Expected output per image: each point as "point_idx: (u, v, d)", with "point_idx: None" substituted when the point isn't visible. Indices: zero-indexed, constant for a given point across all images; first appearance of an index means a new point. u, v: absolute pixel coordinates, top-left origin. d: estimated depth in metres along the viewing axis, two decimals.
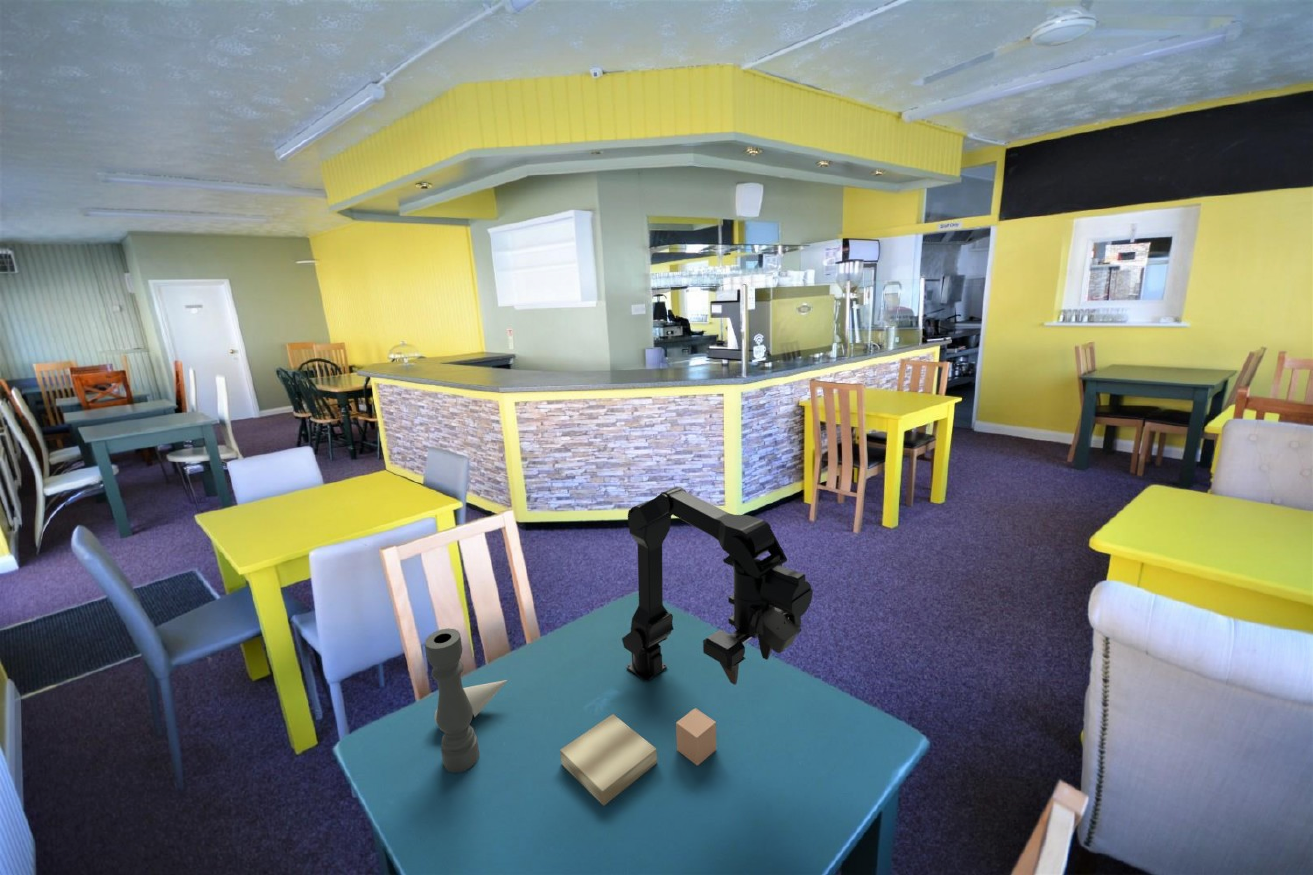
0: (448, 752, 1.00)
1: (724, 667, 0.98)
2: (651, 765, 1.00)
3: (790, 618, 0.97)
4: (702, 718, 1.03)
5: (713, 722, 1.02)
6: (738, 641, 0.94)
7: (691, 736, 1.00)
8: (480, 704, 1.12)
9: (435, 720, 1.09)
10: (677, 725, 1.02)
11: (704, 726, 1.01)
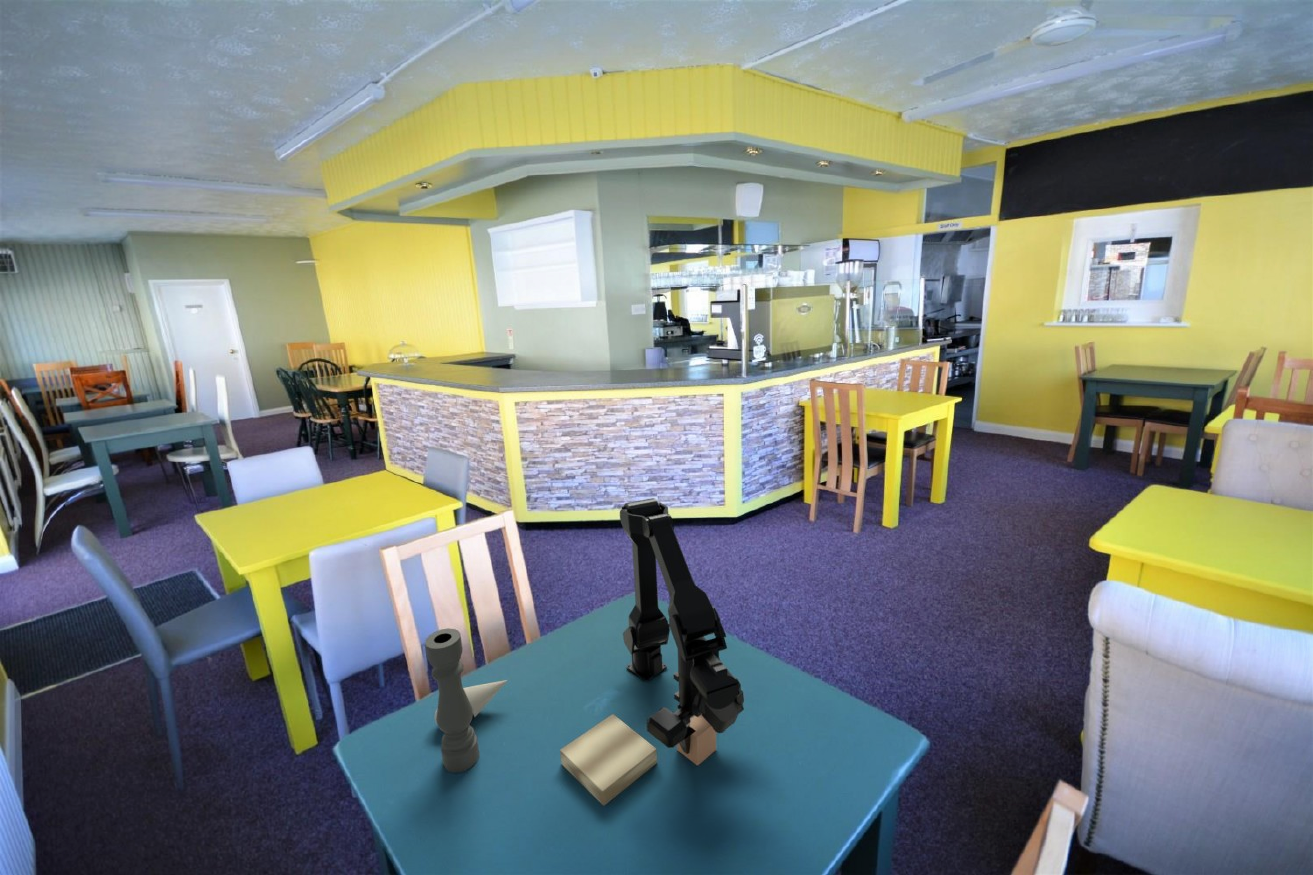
0: (448, 752, 1.00)
1: None
2: (651, 765, 1.00)
3: None
4: (702, 718, 1.03)
5: None
6: (681, 721, 0.95)
7: (691, 735, 1.00)
8: (480, 704, 1.12)
9: (435, 720, 1.09)
10: None
11: (704, 726, 1.01)
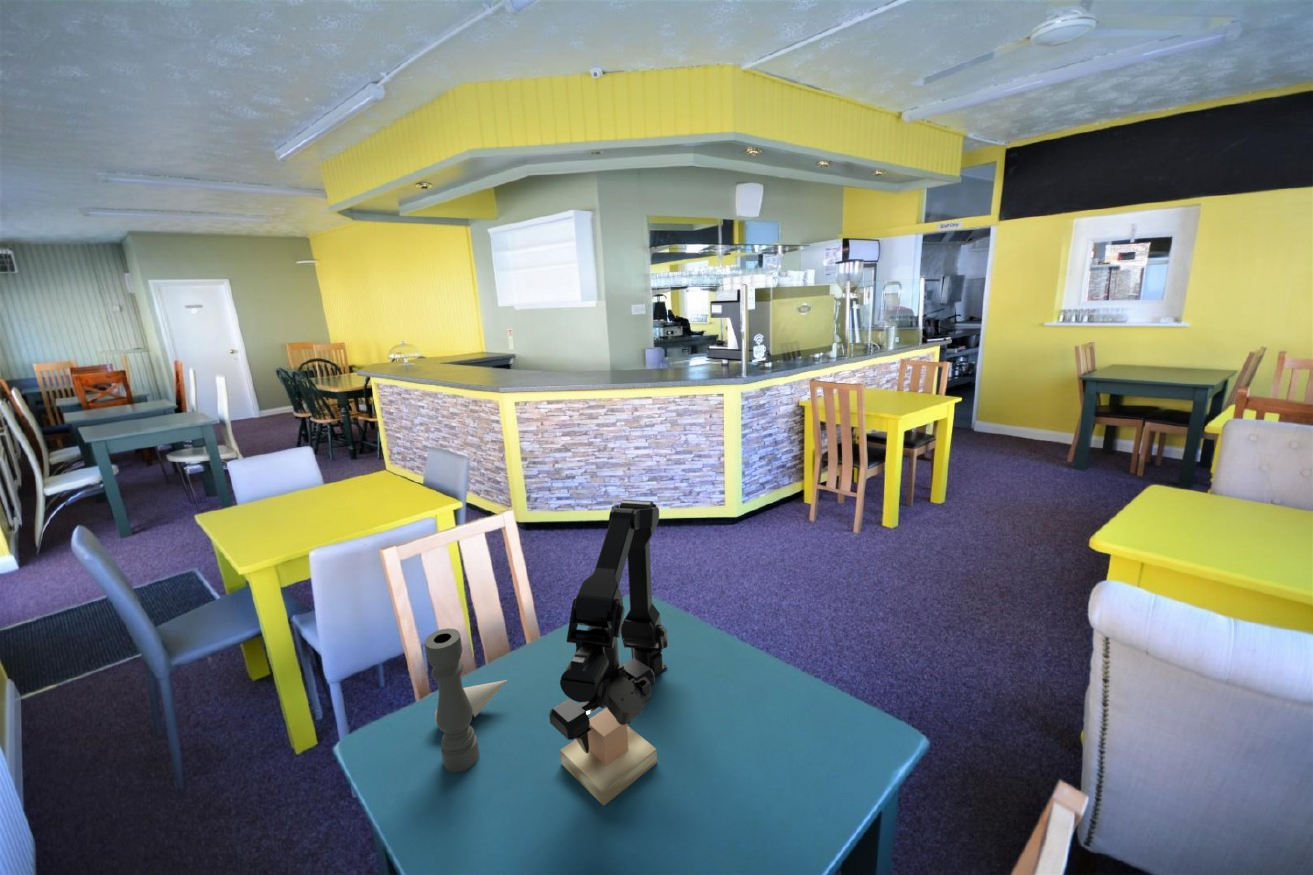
0: (448, 752, 1.00)
1: None
2: (651, 765, 1.00)
3: (641, 686, 0.95)
4: (613, 717, 1.00)
5: None
6: (583, 713, 0.92)
7: (599, 735, 0.97)
8: (480, 704, 1.12)
9: (435, 720, 1.09)
10: None
11: (613, 725, 0.98)
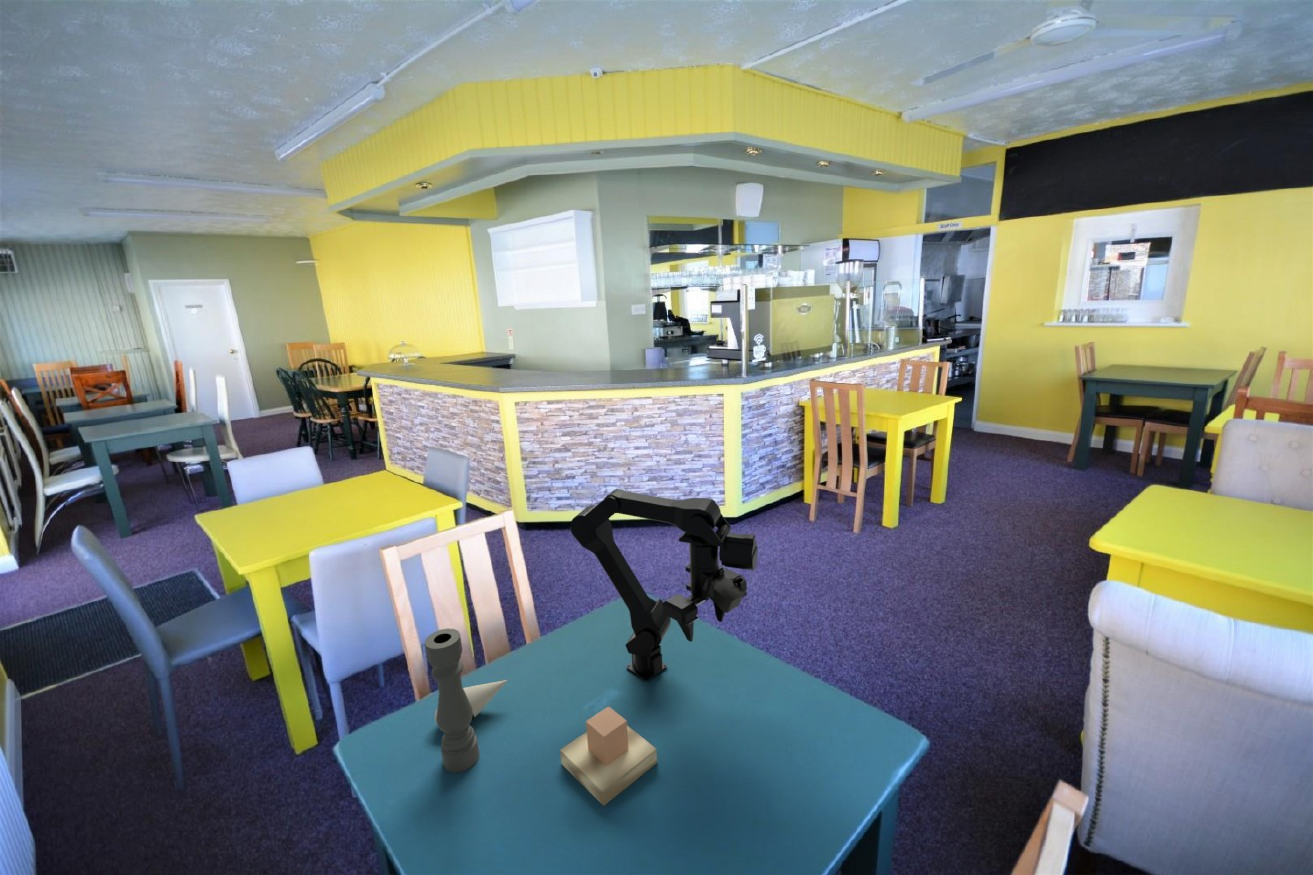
0: (448, 752, 1.00)
1: (681, 626, 1.14)
2: (651, 765, 1.00)
3: (738, 584, 1.13)
4: (613, 717, 1.00)
5: (624, 721, 0.99)
6: (692, 603, 1.10)
7: (599, 735, 0.97)
8: (480, 704, 1.12)
9: (435, 720, 1.09)
10: (587, 724, 0.99)
11: (613, 725, 0.98)
